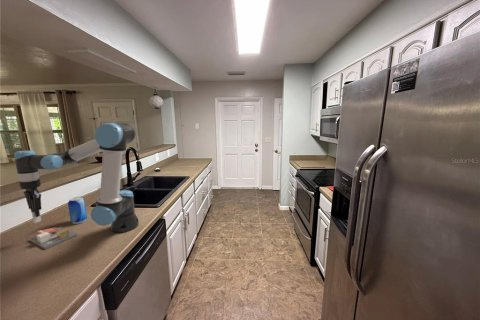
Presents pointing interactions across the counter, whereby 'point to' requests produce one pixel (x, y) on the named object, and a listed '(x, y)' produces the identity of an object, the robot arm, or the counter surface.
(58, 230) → the block
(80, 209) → the beer can
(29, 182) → the robot arm
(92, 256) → the counter surface
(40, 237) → the ivory slider
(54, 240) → the panel
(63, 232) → the brass slider
